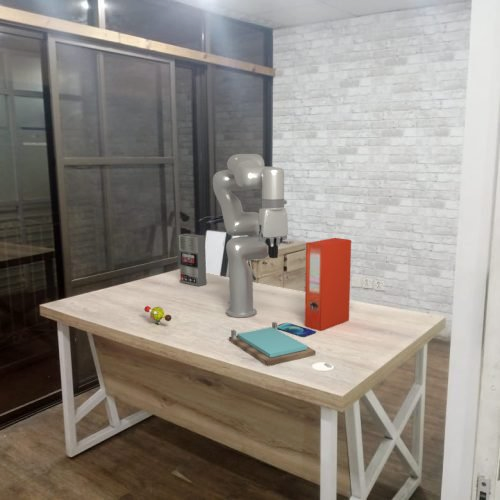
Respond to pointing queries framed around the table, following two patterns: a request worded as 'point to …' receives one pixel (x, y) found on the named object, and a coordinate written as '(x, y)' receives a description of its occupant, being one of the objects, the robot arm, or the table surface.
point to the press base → (265, 358)
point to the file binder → (327, 283)
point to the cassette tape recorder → (192, 259)
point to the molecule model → (157, 314)
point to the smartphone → (295, 329)
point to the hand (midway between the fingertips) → (273, 257)
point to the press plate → (271, 342)
